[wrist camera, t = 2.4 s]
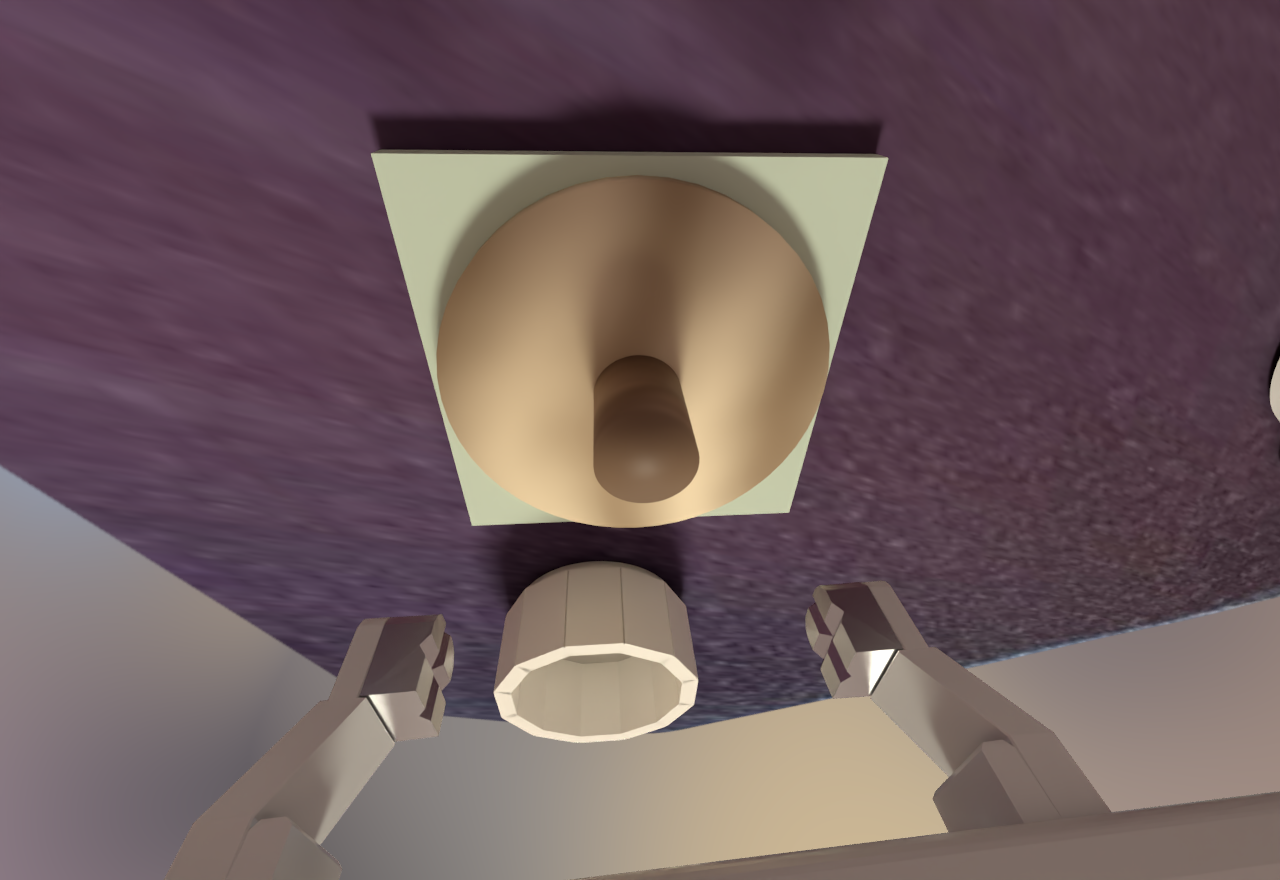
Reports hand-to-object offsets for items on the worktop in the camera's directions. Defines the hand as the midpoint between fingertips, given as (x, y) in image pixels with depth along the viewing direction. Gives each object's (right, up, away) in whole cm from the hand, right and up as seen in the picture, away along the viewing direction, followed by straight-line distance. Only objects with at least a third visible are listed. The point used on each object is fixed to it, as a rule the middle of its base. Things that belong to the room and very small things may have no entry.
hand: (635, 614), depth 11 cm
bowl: (-2, -6, +18) cm, 19 cm away
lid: (0, +6, +8) cm, 10 cm away
